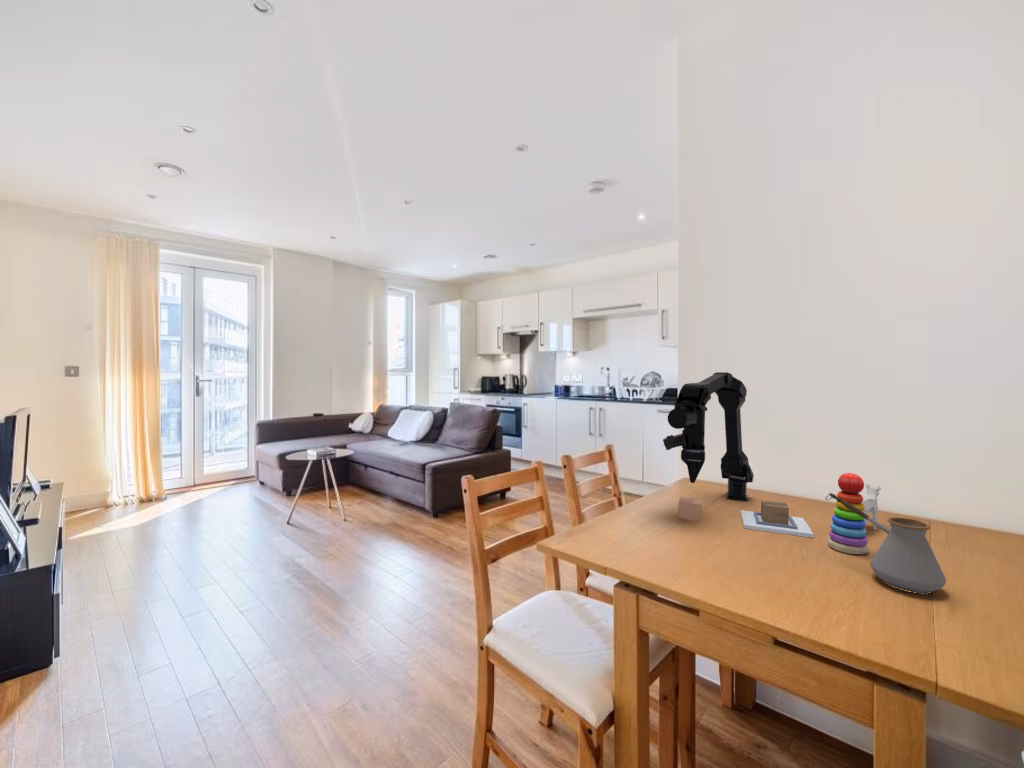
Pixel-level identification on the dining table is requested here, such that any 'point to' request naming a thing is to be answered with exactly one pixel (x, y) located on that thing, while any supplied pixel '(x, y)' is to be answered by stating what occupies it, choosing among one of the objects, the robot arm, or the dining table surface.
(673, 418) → the robot arm
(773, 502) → the walnut block
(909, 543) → the coffee pot
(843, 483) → the stacking toy
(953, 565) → the dining table surface
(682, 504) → the terracotta block
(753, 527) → the board
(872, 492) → the cat figurine
